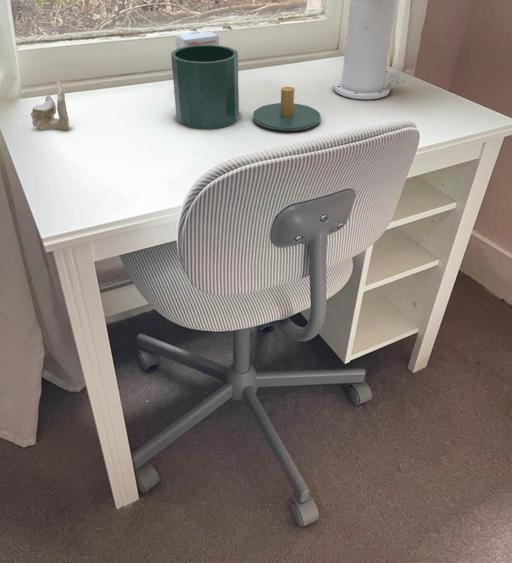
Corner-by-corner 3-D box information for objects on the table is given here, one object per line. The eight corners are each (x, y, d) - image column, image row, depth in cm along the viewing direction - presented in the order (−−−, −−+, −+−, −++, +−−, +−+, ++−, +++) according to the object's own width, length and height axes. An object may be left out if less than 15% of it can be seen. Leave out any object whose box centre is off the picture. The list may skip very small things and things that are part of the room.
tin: (235, 105, 115) (234, 44, 107) (241, 128, 105) (240, 61, 98) (176, 107, 114) (171, 45, 106) (176, 130, 104) (170, 63, 96)
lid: (312, 107, 115) (314, 76, 111) (326, 132, 104) (329, 99, 100) (249, 109, 113) (249, 78, 109) (257, 134, 103) (257, 101, 99)
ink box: (187, 95, 120) (183, 38, 113) (178, 88, 124) (174, 33, 116) (221, 89, 124) (219, 34, 116) (211, 83, 127) (209, 29, 120)
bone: (20, 115, 105) (37, 67, 102) (52, 126, 110) (69, 80, 106) (32, 133, 100) (51, 82, 97) (65, 143, 105) (84, 95, 101)
